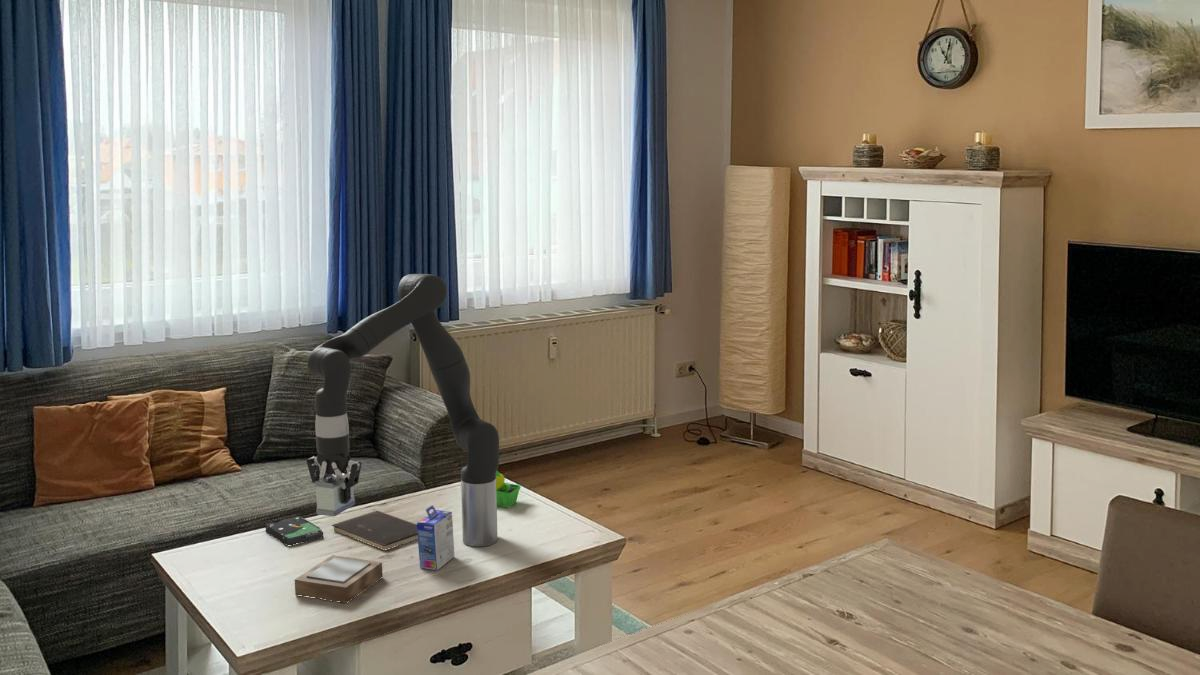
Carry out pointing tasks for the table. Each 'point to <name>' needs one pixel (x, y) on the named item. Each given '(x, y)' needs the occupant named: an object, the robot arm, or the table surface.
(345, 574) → the walnut stand
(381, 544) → the hardcover book
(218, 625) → the table surface
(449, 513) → the ink cartridge box
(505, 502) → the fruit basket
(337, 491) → the box
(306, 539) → the disk drive
